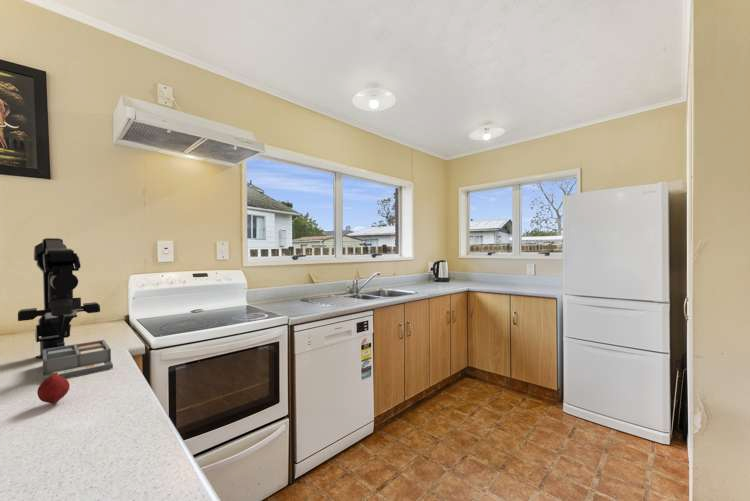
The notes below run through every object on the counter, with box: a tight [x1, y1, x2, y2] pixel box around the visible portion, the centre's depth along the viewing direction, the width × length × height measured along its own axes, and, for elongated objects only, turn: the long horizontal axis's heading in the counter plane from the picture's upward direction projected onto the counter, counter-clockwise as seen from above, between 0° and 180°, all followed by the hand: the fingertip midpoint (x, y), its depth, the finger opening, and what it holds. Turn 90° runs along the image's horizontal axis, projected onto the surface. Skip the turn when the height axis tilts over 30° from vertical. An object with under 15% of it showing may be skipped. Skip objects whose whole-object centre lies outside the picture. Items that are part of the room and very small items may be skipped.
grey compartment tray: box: [42, 339, 114, 381], centre depth 109 cm, size 20×16×6 cm
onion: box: [36, 372, 70, 405], centre depth 84 cm, size 6×6×8 cm
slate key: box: [48, 348, 73, 354], centre depth 111 cm, size 6×6×2 cm
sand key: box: [80, 348, 104, 354], centre depth 111 cm, size 6×6×2 cm
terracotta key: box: [78, 343, 101, 349], centre depth 116 cm, size 6×6×2 cm
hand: (61, 337), depth 105 cm, fingers closed
